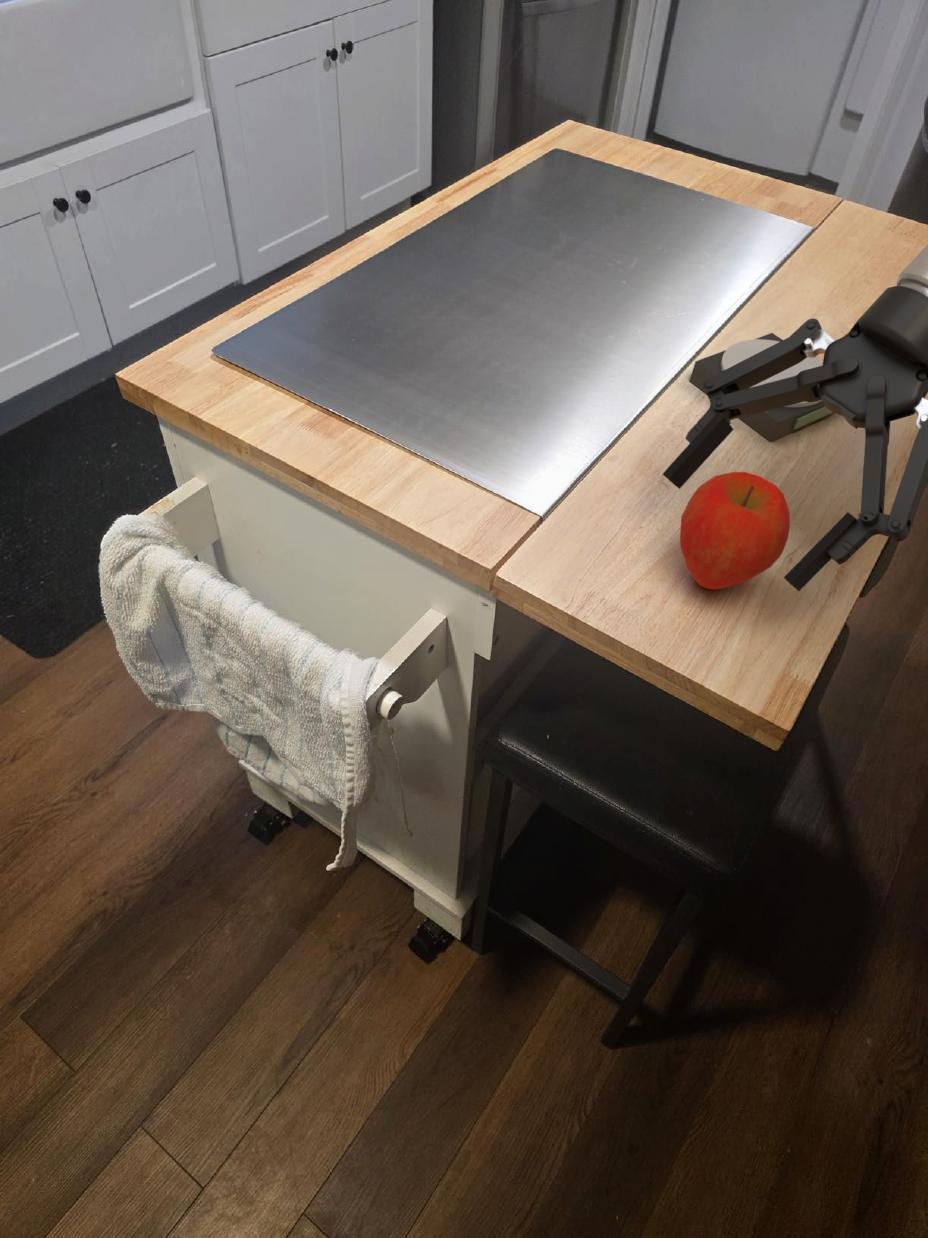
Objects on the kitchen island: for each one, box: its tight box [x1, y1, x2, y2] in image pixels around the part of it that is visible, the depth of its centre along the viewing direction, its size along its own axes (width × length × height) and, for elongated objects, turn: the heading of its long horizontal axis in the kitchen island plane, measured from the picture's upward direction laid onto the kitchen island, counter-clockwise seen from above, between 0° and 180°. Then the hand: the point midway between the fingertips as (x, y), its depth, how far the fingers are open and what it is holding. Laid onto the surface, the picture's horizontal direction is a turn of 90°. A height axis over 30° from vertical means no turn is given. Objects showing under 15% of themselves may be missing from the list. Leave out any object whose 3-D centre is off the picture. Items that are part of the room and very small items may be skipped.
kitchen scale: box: [689, 332, 835, 443], centre depth 93 cm, size 12×12×3 cm
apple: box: [679, 471, 791, 591], centre depth 71 cm, size 9×8×11 cm
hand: (727, 531), depth 70 cm, fingers open, 13 cm apart
